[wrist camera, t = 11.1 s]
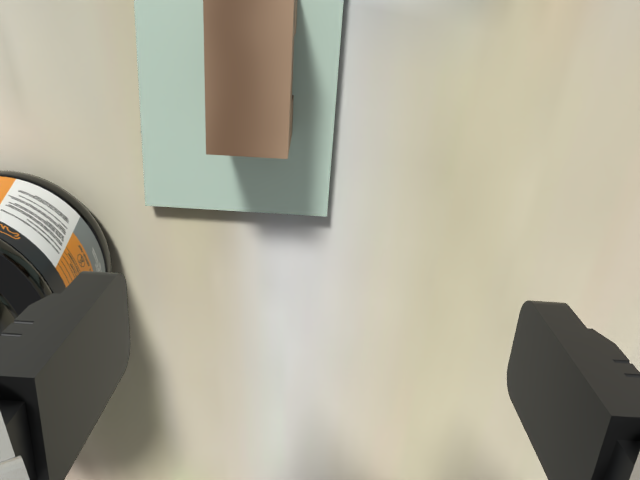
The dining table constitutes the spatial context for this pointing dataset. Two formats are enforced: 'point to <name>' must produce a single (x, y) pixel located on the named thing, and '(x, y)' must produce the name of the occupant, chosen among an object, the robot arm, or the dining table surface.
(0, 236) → the supplement container
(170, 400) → the dining table surface
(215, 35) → the block
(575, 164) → the dining table surface
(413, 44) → the dining table surface
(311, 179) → the pin plate
